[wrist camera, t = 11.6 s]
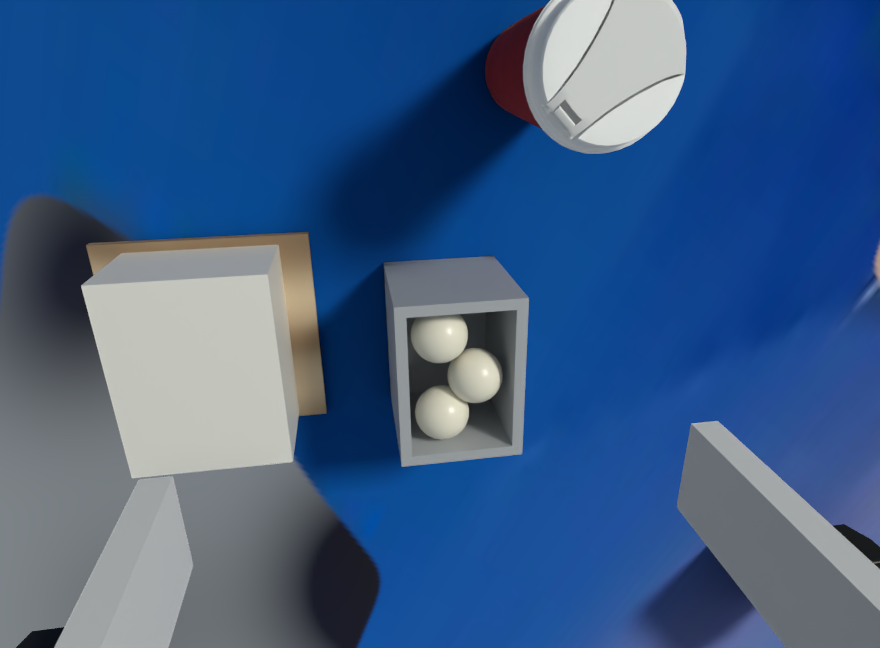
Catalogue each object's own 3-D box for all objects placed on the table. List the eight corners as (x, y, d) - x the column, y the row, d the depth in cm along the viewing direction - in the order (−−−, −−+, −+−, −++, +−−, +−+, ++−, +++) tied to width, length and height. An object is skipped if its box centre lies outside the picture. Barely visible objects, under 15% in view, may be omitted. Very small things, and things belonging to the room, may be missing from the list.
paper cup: (521, 155, 41) (602, 192, 28) (443, 69, 38) (495, 65, 25) (606, 68, 40) (732, 65, 27) (533, -28, 37) (635, -83, 24)
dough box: (383, 262, 42) (393, 307, 34) (493, 256, 43) (529, 298, 35) (391, 397, 47) (401, 466, 38) (490, 388, 48) (522, 454, 39)
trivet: (89, 243, 39) (85, 245, 38) (308, 231, 41) (307, 233, 40) (135, 427, 44) (133, 431, 44) (326, 409, 46) (326, 413, 46)
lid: (121, 253, 39) (80, 285, 33) (278, 244, 40) (267, 274, 34) (160, 423, 44) (131, 478, 38) (299, 410, 45) (292, 461, 39)
